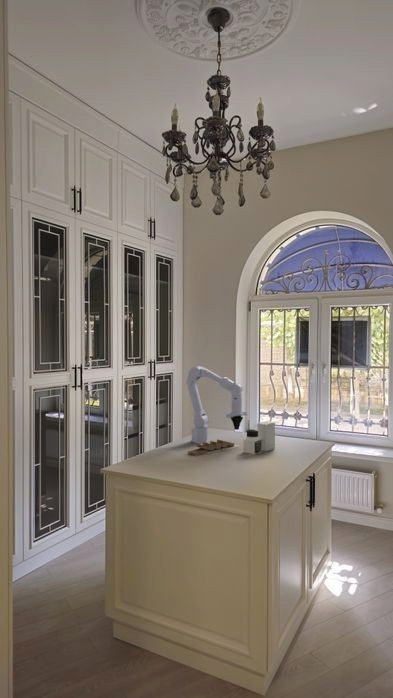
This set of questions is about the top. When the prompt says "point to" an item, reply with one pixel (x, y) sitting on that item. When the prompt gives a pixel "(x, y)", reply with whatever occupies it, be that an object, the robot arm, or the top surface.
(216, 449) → the domino mat
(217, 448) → the domino
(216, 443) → the domino
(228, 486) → the top surface
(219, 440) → the domino
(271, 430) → the skincare box
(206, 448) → the domino
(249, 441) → the medicine bottle
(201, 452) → the end domino
